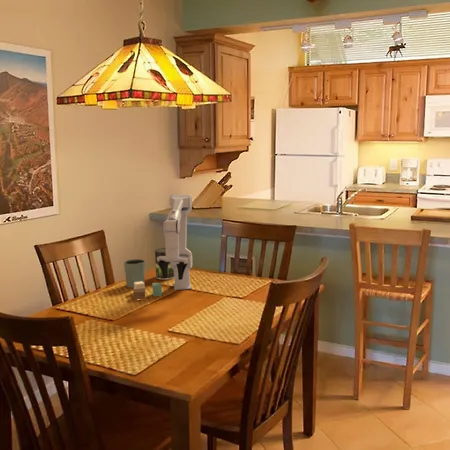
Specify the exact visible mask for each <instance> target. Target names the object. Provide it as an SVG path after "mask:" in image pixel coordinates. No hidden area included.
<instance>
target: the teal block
mask: <svg viewBox="0 0 450 450" xmlns="http://www.w3.org/2000/svg"><path fill="white" fill-rule="evenodd" d="M162 287H163V286H162V282H152V296H153V297H162V296H163V289H162ZM161 295H162V296H161Z"/></svg>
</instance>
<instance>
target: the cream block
mask: <svg viewBox="0 0 450 450" xmlns="http://www.w3.org/2000/svg"><path fill="white" fill-rule="evenodd" d="M144 282H145V281H144ZM144 282H143V281H140V282H134V288H133V290H134V289H140V288H145V289H146V286H145V283H146V282H145V283H144Z"/></svg>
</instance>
